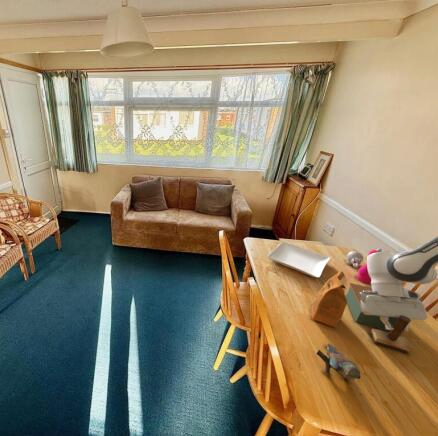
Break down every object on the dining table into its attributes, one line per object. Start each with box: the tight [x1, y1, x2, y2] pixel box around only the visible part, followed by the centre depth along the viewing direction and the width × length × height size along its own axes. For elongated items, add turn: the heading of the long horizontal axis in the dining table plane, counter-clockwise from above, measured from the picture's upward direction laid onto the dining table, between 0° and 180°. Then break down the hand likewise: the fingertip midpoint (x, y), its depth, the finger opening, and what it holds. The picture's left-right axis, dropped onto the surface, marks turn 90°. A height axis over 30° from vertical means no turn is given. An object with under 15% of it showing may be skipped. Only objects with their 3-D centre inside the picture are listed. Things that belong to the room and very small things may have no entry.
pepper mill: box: [356, 247, 383, 284], centre depth 119 cm, size 7×7×20 cm
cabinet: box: [345, 282, 412, 332], centre depth 101 cm, size 16×17×8 cm
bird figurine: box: [315, 343, 362, 380], centre depth 78 cm, size 13×10×20 cm
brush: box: [370, 315, 413, 354], centre depth 86 cm, size 10×5×14 cm, turn 64°
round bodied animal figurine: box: [344, 250, 364, 269], centre depth 132 cm, size 7×12×8 cm, turn 146°
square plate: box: [266, 241, 331, 279], centre depth 138 cm, size 27×27×4 cm
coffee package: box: [310, 270, 348, 328], centre depth 97 cm, size 10×12×22 cm
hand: (397, 330), depth 86 cm, fingers open, 3 cm apart
